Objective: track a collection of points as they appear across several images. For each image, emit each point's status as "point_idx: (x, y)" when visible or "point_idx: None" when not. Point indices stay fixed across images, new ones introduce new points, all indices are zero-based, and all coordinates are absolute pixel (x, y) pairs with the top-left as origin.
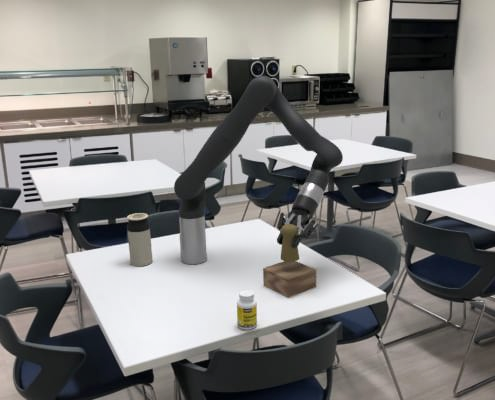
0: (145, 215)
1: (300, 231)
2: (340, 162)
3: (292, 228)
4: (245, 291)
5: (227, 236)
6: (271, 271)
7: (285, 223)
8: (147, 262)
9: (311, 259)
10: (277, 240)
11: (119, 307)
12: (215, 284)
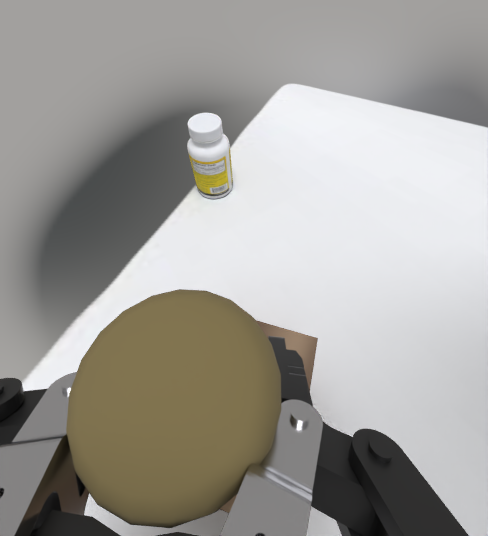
0: None
1: (34, 411)
2: None
3: (102, 331)
4: (211, 125)
5: None
6: (271, 328)
7: (292, 494)
8: None
9: None
10: (282, 339)
11: (442, 136)
12: (413, 284)
